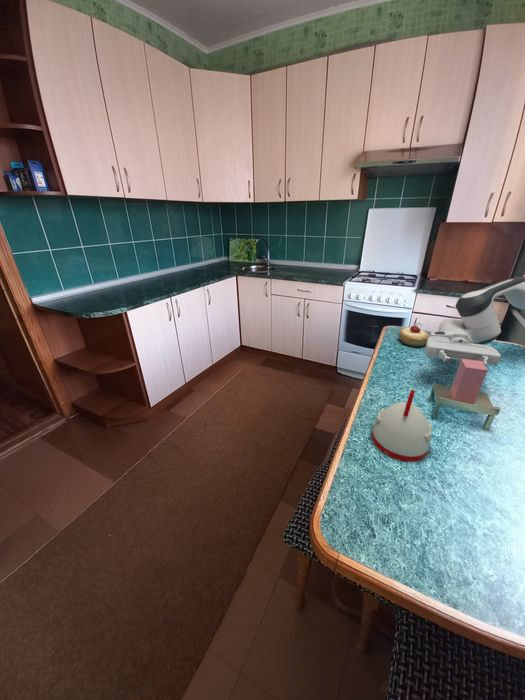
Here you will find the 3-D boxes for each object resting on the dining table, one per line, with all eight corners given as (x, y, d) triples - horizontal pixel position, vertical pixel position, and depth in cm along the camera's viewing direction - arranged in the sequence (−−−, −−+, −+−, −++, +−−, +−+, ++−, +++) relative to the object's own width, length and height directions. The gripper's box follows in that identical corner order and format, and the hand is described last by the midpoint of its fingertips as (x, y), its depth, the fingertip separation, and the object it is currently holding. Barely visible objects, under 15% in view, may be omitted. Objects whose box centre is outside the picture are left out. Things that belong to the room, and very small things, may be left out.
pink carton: (469, 393, 85) (481, 361, 80) (474, 403, 81) (487, 370, 76) (450, 390, 87) (461, 358, 82) (454, 400, 83) (465, 367, 78)
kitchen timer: (431, 434, 79) (446, 389, 72) (424, 470, 69) (441, 421, 62) (378, 416, 86) (387, 374, 79) (365, 446, 76) (374, 400, 69)
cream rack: (480, 408, 88) (489, 387, 85) (489, 432, 79) (500, 409, 76) (428, 398, 93) (435, 377, 89) (432, 420, 84) (439, 398, 80)
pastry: (392, 341, 131) (395, 322, 127) (407, 334, 137) (411, 317, 133) (417, 351, 122) (422, 331, 118) (432, 343, 128) (437, 325, 124)
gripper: (490, 356, 96) (502, 378, 85) (421, 347, 103) (425, 365, 92) (496, 339, 94) (510, 359, 82) (425, 331, 101) (430, 348, 89)
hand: (464, 362), depth 87 cm, fingers open, 8 cm apart
